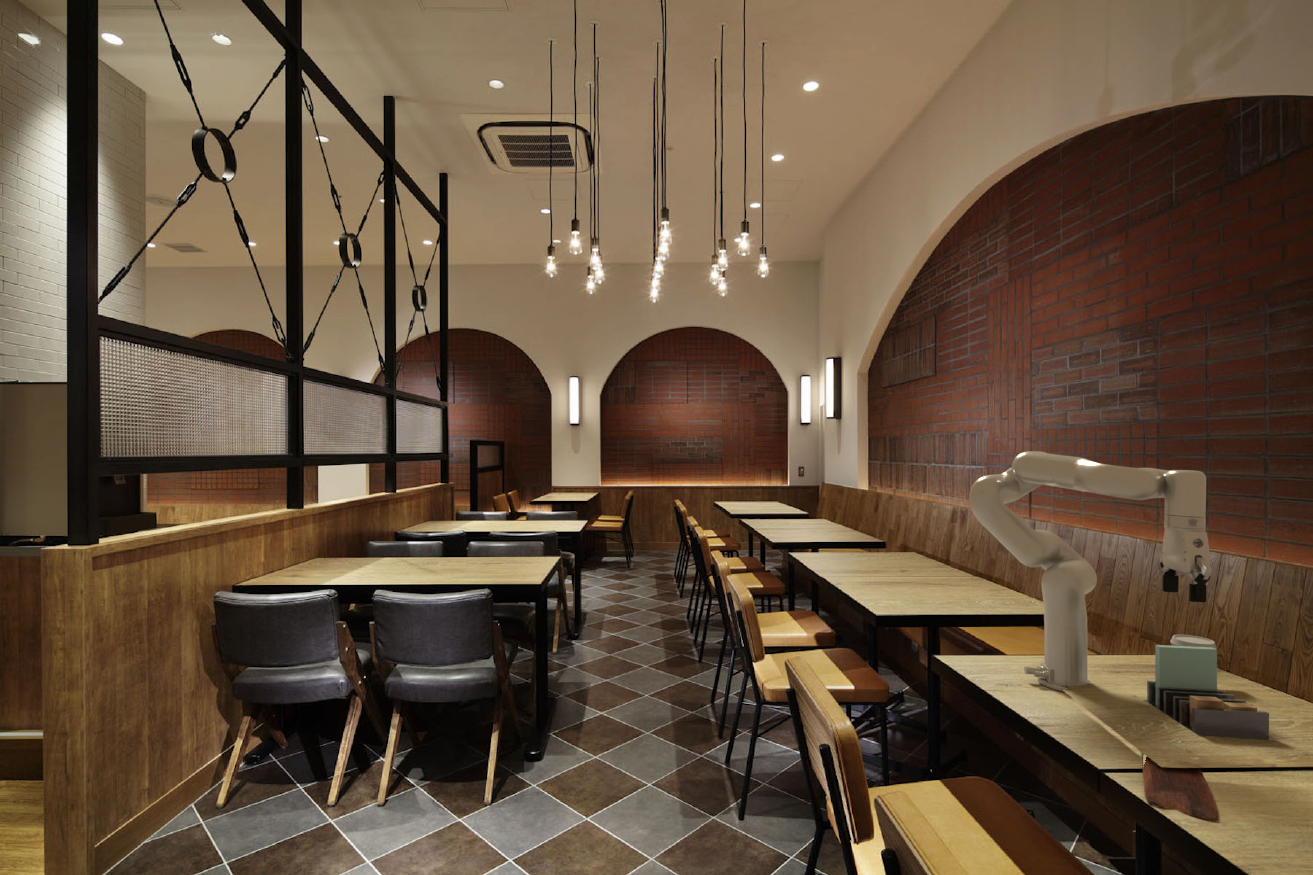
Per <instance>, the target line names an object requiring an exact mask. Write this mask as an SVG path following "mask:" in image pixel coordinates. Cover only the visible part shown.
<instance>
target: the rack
mask: <svg viewBox="0 0 1313 875" xmlns="http://www.w3.org/2000/svg"><path fill="white" fill-rule="evenodd" d="M1146 682H1147V683H1146V684H1147V686H1146V687H1147V690H1146V692H1147V699H1143V701H1144V702H1147V703H1148V704H1149V705H1150V706H1152V707H1153V708H1156V709H1157V710H1158V711H1160V712H1161V713H1163V714H1164V715H1166V716H1168V717H1169V718H1171V719H1172V720H1174V721H1175V722H1177V723H1178V724H1180V725H1182V726H1183V727H1185V728H1187V730H1189V731H1191V732H1192V733H1194V734H1195V735H1197V736H1198V737H1207V738H1209V737H1211V738H1223V739H1224V738H1227V739H1241V740H1242V739H1243V740H1258V741H1259V740H1260V741H1275V739H1274V738H1271V737H1270V713H1269V712H1268V711H1259V710H1257V711H1244V710H1226V709H1208V708H1192V727H1191V726H1190V696H1206V697H1216V698H1218V699H1220V700H1222V701H1223V702H1231V703H1247V701H1246V700H1244V699H1236V696H1235V694H1233V693H1228V691H1227V690H1224V689H1223V690H1222V689H1220V690H1219V689H1217V690H1205V689H1186V688H1166V687H1157V691H1158V706H1156V682H1155V681H1153V680H1147V681H1146ZM1249 704H1250V705H1252V706H1254V705H1253V704H1252V703H1249Z"/></svg>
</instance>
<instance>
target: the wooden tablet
mask: <svg viewBox="0 0 1313 875" xmlns="http://www.w3.org/2000/svg"><path fill="white" fill-rule="evenodd" d="M1145 761H1146V762H1145V764H1144V765H1143V766H1144V767H1143V766H1142V779H1143V786H1144V787H1143V789H1144V797H1145V800H1146V802H1147V804H1148V805H1149V806H1151V807H1153V808H1159V809H1162V810H1167V811H1178V812H1179V813H1181V814H1183V815H1185V816H1189V817H1191V818H1196V819H1198V820H1199V819H1200V820H1203V821H1208V822H1216V821H1217V820H1218V819H1219V817H1218V816H1219V813H1218V808H1217V804H1216V801H1215V798H1214V796H1213V793H1212V790H1211V789H1210V786H1209V784H1208V782H1207V780H1206V778H1205V776H1204V774H1203V772H1202V769H1196V768H1195V769H1194V768H1183V767H1182V768H1181V767H1180V768H1179V767H1165V766H1160V765H1159V764H1158V763H1157V762H1156V761H1154V760H1153V759H1151V757H1149V756H1148V755H1147V757H1146V760H1145Z"/></svg>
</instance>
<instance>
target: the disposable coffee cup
mask: <svg viewBox="0 0 1313 875" xmlns="http://www.w3.org/2000/svg"><path fill="white" fill-rule="evenodd" d="M1169 642H1170V644H1171V646H1191V647H1212V648H1215V649H1217V650H1218V646H1216V642H1215V641H1214V640H1212V639H1210V638H1206V637H1202V636H1196V635H1192V634H1191V635H1189V634H1174V635H1172V637H1171V639H1170V641H1169Z"/></svg>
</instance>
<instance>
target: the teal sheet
mask: <svg viewBox="0 0 1313 875" xmlns="http://www.w3.org/2000/svg"><path fill="white" fill-rule="evenodd" d="M1154 646H1155V648H1154V649H1155V650H1154V651H1155V652H1154V654H1155V655H1154V656H1155V657H1154V659H1155V667H1154V668H1155V672H1154V673H1155V682H1156V706H1158V691H1157V687H1166V688H1186V689H1205V690H1218V648H1217V649H1215V648H1212V647H1191V646H1172V645H1169V644H1168V645H1164V644H1163V645H1162V644H1154Z"/></svg>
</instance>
